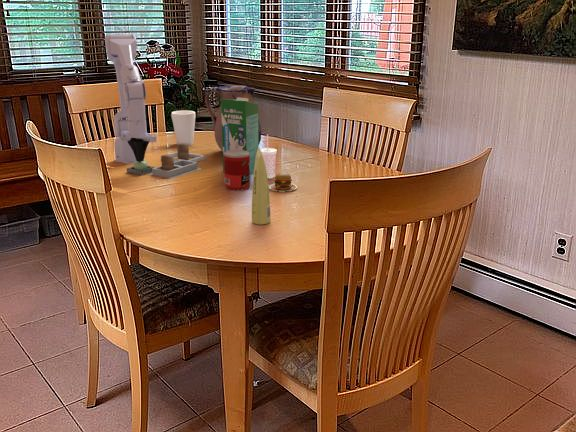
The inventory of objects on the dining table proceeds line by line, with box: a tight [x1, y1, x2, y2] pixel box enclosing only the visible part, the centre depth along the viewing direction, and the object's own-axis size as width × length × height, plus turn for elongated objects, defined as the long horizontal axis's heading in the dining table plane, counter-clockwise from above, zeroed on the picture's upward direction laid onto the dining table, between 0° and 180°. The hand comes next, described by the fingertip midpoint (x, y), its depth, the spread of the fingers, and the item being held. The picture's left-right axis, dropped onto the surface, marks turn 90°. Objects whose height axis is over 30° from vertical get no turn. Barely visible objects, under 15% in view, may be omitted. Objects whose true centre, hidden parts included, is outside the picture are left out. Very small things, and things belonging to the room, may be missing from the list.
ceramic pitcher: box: [204, 85, 262, 152], centre depth 217 cm, size 18×21×25 cm
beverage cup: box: [260, 134, 278, 179], centre depth 189 cm, size 6×6×14 cm
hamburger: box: [268, 172, 298, 193], centre depth 178 cm, size 12×12×6 cm
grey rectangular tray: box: [149, 160, 202, 180], centre depth 193 cm, size 10×15×3 cm, turn 147°
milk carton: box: [220, 98, 260, 175], centre depth 192 cm, size 9×9×25 cm
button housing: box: [126, 165, 156, 176], centre depth 192 cm, size 6×6×2 cm
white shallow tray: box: [170, 151, 207, 163], centre depth 208 cm, size 13×10×2 cm
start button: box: [132, 160, 149, 171], centre depth 191 cm, size 4×4×3 cm
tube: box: [251, 146, 271, 226], centre depth 148 cm, size 6×5×20 cm
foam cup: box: [170, 109, 197, 146], centre depth 233 cm, size 10×9×13 cm
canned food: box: [223, 150, 251, 191], centre depth 178 cm, size 8×8×11 cm
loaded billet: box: [160, 153, 175, 171], centre depth 189 cm, size 4×4×6 cm
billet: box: [176, 143, 190, 160], centre depth 207 cm, size 4×4×6 cm
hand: (140, 161), depth 190 cm, fingers closed
